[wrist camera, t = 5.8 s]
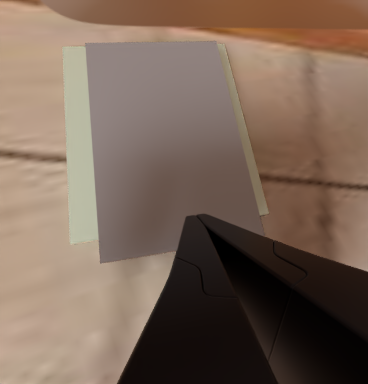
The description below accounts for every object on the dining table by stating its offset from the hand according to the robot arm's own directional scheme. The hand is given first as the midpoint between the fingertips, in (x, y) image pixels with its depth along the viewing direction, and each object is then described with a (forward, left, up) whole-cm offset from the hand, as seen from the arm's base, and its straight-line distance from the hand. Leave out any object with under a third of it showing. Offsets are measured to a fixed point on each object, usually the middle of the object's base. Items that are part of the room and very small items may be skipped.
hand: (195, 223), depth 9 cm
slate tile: (-1, +1, -5) cm, 5 cm away
